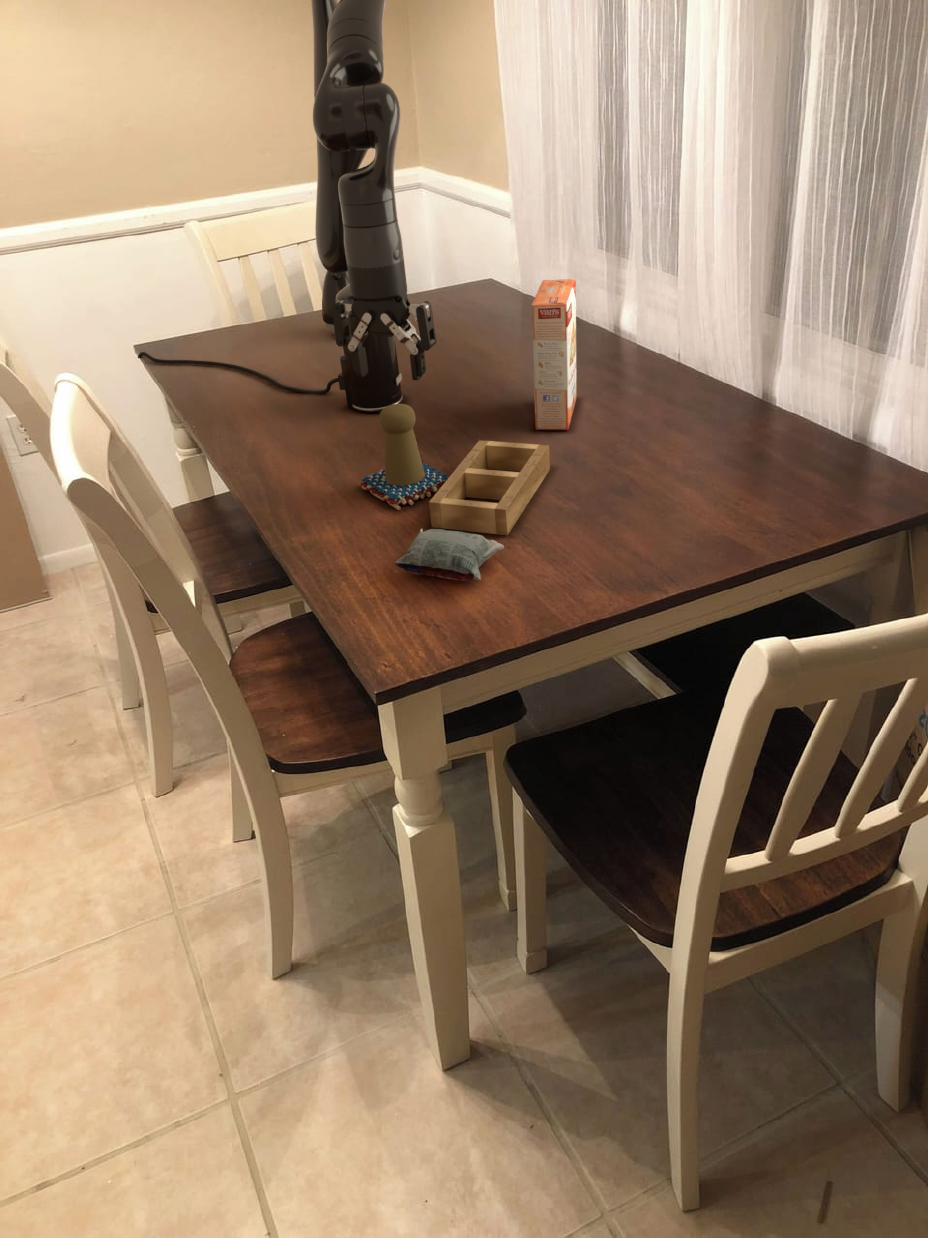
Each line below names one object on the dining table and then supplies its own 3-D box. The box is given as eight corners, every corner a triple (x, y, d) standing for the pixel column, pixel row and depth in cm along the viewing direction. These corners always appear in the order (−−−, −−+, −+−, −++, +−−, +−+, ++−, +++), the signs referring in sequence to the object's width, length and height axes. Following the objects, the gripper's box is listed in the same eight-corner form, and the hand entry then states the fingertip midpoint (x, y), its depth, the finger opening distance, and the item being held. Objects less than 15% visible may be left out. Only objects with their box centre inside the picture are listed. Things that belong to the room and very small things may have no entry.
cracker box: (571, 431, 156) (567, 302, 144) (534, 431, 157) (528, 303, 146) (579, 399, 167) (577, 276, 156) (545, 399, 169) (540, 278, 157)
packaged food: (424, 546, 129) (420, 514, 126) (505, 558, 124) (503, 525, 122) (395, 579, 123) (390, 547, 120) (479, 594, 118) (476, 560, 115)
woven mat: (358, 489, 145) (356, 477, 144) (415, 467, 150) (414, 455, 149) (395, 512, 138) (393, 499, 137) (454, 488, 143) (453, 476, 141)
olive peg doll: (430, 469, 144) (423, 399, 138) (416, 487, 139) (407, 416, 133) (394, 466, 146) (384, 398, 140) (378, 484, 141) (368, 414, 135)
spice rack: (431, 527, 133) (428, 502, 131) (481, 463, 149) (479, 439, 147) (507, 535, 129) (505, 509, 127) (550, 469, 145) (549, 445, 143)
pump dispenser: (320, 342, 206) (308, 270, 198) (332, 326, 215) (320, 257, 206) (366, 340, 205) (355, 267, 196) (376, 325, 213) (366, 254, 205)
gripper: (435, 250, 125) (446, 369, 135) (339, 249, 130) (356, 364, 139) (413, 266, 120) (426, 389, 129) (313, 264, 124) (333, 383, 134)
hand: (390, 376), depth 134 cm, fingers open, 8 cm apart
